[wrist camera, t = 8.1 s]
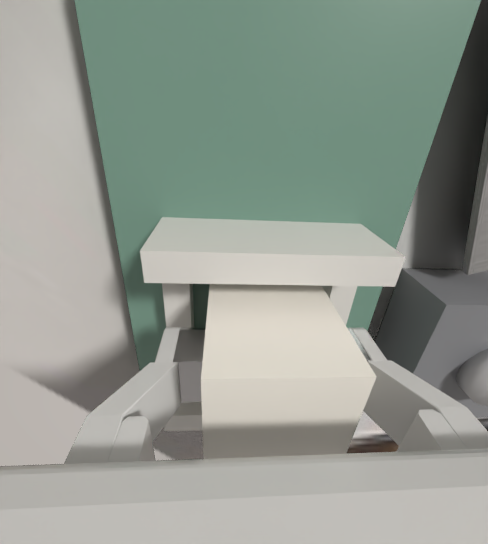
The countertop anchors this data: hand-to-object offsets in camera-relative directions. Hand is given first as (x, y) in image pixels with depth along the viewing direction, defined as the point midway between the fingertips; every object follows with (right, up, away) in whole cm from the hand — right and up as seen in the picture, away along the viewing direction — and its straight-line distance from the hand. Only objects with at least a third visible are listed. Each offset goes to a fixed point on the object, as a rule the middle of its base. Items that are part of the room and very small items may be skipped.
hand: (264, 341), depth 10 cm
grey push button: (+10, 0, +5) cm, 11 cm away
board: (0, +4, +2) cm, 4 cm away
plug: (0, +1, +2) cm, 2 cm away
